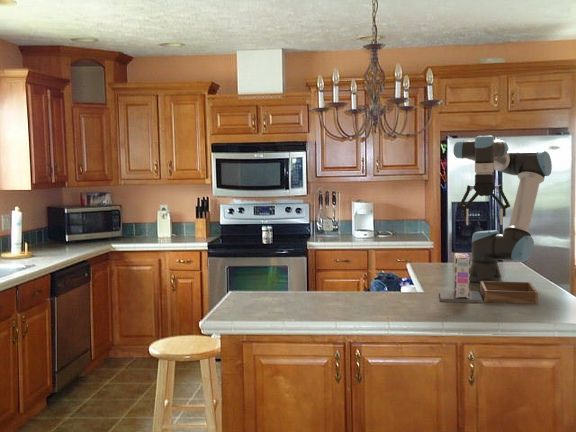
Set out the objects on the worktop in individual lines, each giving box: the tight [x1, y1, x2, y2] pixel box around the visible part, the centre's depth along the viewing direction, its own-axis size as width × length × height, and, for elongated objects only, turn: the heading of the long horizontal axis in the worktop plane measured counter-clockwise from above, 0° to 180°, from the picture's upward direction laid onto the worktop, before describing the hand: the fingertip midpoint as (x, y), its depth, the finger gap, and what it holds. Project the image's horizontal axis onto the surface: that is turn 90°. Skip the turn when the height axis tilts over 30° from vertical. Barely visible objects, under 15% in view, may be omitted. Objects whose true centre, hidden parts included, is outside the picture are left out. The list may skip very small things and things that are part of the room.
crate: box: [479, 281, 539, 304], centre depth 265 cm, size 20×20×4 cm
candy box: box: [453, 252, 471, 298], centre depth 264 cm, size 14×6×16 cm, turn 168°
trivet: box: [439, 289, 483, 304], centre depth 265 cm, size 16×16×1 cm
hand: (484, 224), depth 270 cm, fingers open, 13 cm apart
